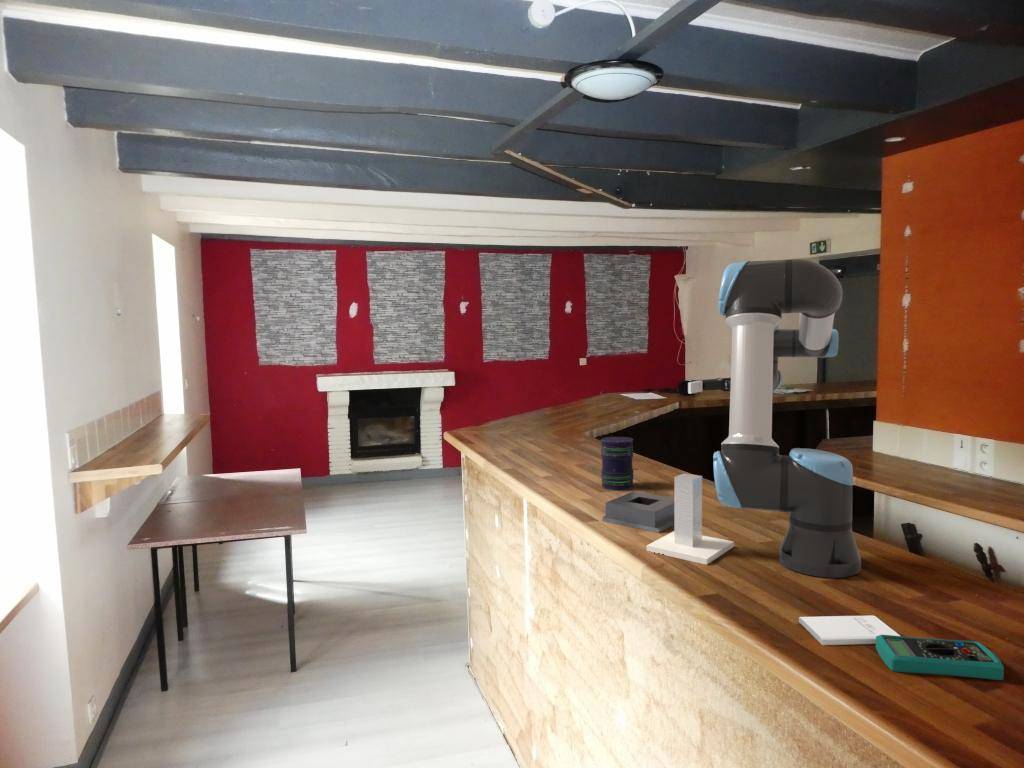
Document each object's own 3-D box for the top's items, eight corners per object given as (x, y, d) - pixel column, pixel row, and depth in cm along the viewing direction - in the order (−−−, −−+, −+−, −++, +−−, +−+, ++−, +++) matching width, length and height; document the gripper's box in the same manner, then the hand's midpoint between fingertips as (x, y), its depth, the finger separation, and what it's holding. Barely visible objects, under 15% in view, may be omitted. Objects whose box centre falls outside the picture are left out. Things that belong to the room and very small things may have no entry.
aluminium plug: (701, 542, 146) (702, 476, 145) (692, 547, 143) (692, 479, 142) (683, 538, 149) (683, 473, 148) (674, 543, 146) (674, 477, 145)
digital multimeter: (1009, 684, 90) (1010, 663, 90) (890, 674, 93) (890, 654, 93) (982, 658, 97) (983, 638, 97) (873, 649, 100) (873, 631, 100)
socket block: (695, 513, 172) (695, 495, 172) (658, 532, 157) (658, 512, 157) (641, 504, 183) (641, 486, 182) (602, 521, 168) (602, 501, 167)
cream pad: (733, 546, 146) (733, 541, 146) (706, 564, 136) (706, 559, 136) (676, 534, 155) (676, 529, 155) (646, 550, 145) (646, 545, 145)
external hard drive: (798, 625, 109) (872, 623, 109) (822, 649, 101) (902, 646, 101) (798, 615, 109) (873, 613, 109) (822, 638, 101) (902, 636, 101)
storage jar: (599, 490, 200) (599, 441, 198) (602, 482, 209) (602, 436, 208) (632, 491, 197) (632, 442, 196) (634, 483, 207) (634, 436, 205)
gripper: (798, 399, 166) (768, 408, 150) (704, 394, 182) (668, 401, 166) (799, 369, 165) (768, 375, 149) (705, 367, 181) (668, 372, 165)
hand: (715, 389), depth 157 cm, fingers open, 13 cm apart
